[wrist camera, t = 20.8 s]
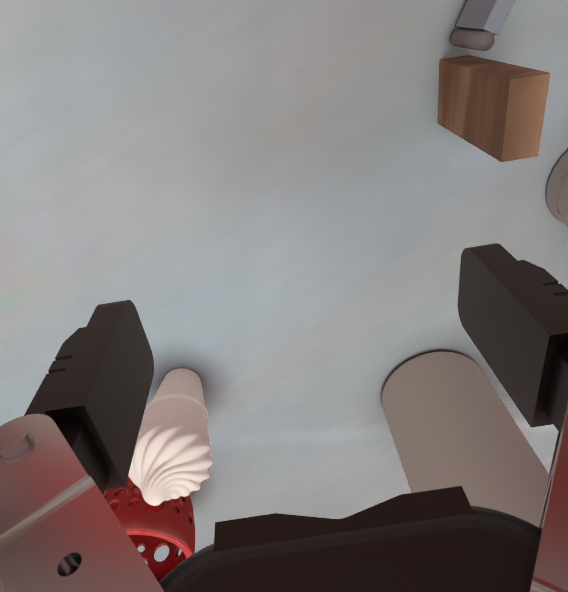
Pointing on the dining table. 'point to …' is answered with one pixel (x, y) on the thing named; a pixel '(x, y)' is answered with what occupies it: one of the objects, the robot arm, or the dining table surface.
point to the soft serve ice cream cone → (173, 440)
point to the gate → (480, 23)
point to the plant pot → (155, 525)
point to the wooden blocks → (493, 105)
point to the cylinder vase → (461, 436)
